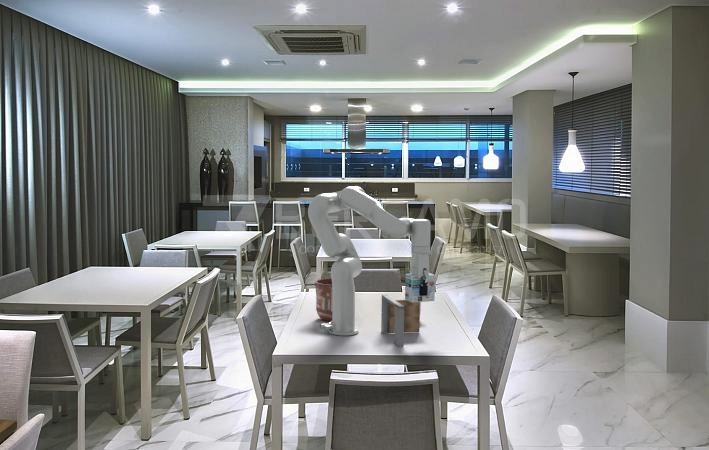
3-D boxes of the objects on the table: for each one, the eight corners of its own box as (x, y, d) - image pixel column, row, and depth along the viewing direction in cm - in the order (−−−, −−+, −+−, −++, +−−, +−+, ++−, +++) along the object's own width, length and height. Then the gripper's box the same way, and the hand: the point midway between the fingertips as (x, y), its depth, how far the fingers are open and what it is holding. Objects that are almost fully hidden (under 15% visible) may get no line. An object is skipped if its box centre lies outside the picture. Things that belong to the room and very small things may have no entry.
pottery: (329, 313, 294) (328, 276, 293) (360, 318, 285) (360, 279, 284) (307, 321, 279) (307, 282, 277) (340, 326, 270) (340, 286, 268)
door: (387, 333, 257) (388, 300, 256) (387, 332, 258) (387, 300, 257) (419, 332, 259) (420, 299, 258) (418, 331, 260) (419, 299, 259)
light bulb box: (411, 303, 241) (412, 276, 240) (404, 299, 248) (404, 273, 247) (435, 301, 245) (436, 274, 244) (427, 297, 252) (427, 272, 251)
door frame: (398, 346, 238) (399, 306, 237) (381, 331, 261) (381, 294, 260) (403, 346, 239) (404, 306, 238) (385, 331, 262) (386, 294, 260)
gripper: (404, 247, 252) (404, 290, 254) (419, 253, 235) (418, 298, 237) (421, 247, 254) (421, 289, 256) (437, 252, 237) (436, 297, 239)
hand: (419, 293), depth 246 cm, fingers closed on light bulb box, 7 cm apart
